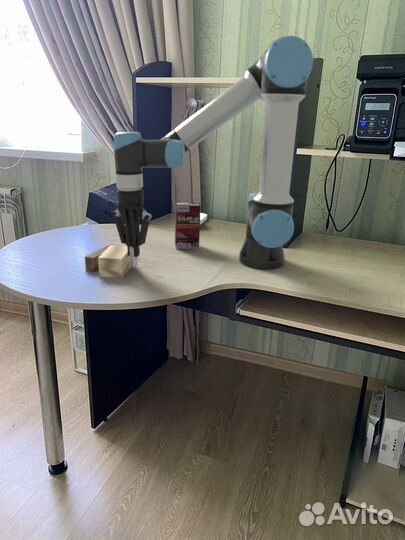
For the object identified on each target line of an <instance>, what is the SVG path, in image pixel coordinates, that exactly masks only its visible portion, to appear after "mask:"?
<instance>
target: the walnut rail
mask: <svg viewBox="0 0 405 540" xmlns="http://www.w3.org/2000/svg"><path fill="white" fill-rule="evenodd" d="M110 245H116V244H115V243H110V244H108V245H106V246H104V247H102V248H100V249H97V250H96V251H93V252H92V253H89V254H87V255H86V256H84V263H85V271H87V272H90V273H91V272H92V273H95V272H97V271H99V265H98V257H99V256H100V255H101V254H102V253H103V252H104V251H105V250H106V249H107V248H108V247H109V246H110ZM117 245H118V246H120V244H117Z"/></svg>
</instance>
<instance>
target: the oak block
mask: <svg viewBox="0 0 405 540" xmlns="http://www.w3.org/2000/svg"><path fill="white" fill-rule="evenodd" d="M109 245H110V244H109ZM118 245H119V244H115V245H110V246H109V247H108V248H107V249H106V250H105V251H104V252H103V253H102V254H101V255H100V256H99V257H98V265H99V270H98V276H99V277H101V278H102V277H103V278H104V277H105V278H114V279H117V278H118V279H123V278H124V277H125V275H126V274H127V273H128V271H129V270H130V269H131V263H130V256H128V249H127V245H119V246H118ZM99 277H98V278H99Z"/></svg>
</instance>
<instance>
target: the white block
mask: <svg viewBox="0 0 405 540" xmlns="http://www.w3.org/2000/svg"><path fill="white" fill-rule="evenodd" d="M207 220H208V214H207V213H203V212H200V226H201V225H202V224H203V223H204V222H205V221H207Z"/></svg>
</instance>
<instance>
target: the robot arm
mask: <svg viewBox="0 0 405 540" xmlns="http://www.w3.org/2000/svg"><path fill="white" fill-rule="evenodd" d="M313 64H314V56H313V52H312V48H311V47H310V45H309V44H308V43H307V42H306V41H305V40H304V39H303V38H301V37H300V36H295V35H286V36H281V37H279V38H277V39H274V40H273V41H272V42H271V44H270V45H269V46H268V47H267V49H266V50H265V51H264V52H263V54H262V55H261V56H260V57H259V58H258V59H257V60H256V61H255V62H254V63H253V64H252V65H251V66H249V68H247V69H246V70H245V72H244V76H242V77H241V78H240V79H239V80H237V81H236V82H234V83H233V84H232V85H231V86H229V87H228V88H227V89H226V90H224V91H222V92H221V93H220V94H219V95H218V96H216V97H215V98H213V99H212V100H211V101H210V102H208V103H206V105H204V106H203V107H202V108H200V109H199V110H197V111H196V112H195V113H193V114H192V115H191V116H190V117H189V118H186V120H184V121H183V122H181V123H180V124H179V125H178V126H176V127H175V128H174V129H172V130H171V131H170V132H169V133H167V134H166V135H165V136H163V137H161V138H160V139H143V138H142V135H141V133H140V132H139V131H120V132H116V133H115V134H113V152H114V153H113V154H114V167H115V182H116V183H115V185H116V189H117V190H116V195H117V196H116V197H117V198H116V199H117V202H118V205H117V208H116V209H115V210H114V211H111V212H110V215H111V217H112V219H113V220H114V222H115V226H116V230H117V233H118V237H119V239H120V243H121V244H125V246H127V249H128V256H130V263H131V267H130V269H133V268H136V267H137V266H139V257H140V254H141V251H140V246H143V245H145V244H146V240H147V235H148V230H149V226H150V221H151V219H152V218H153V214H152V213H149V212H147V210H146V207H145V205H144V201H145V200H144V199H145V198H144V196H145V195H144V193H145V192H144V189H143V187H144V179H143V178H144V177H143V176H144V175H143V168H159V169H160V168H161V169H163V168H164V169H166V168H167V169H169V168H170V169H176V168H177V169H178V168H183V167H184V166H185V161H186V160H185V159H186V157H185V155H186V153H188V151H190V150H192V148H193V147H195V146H197V145H198V144H199V143H200V142H202V141H204V140H205V139H206V138H208V137H209V136H210V135H212V134H214V133H215V132H216V131H217V130H218V129H220V128H222V127H223V126H224V125H226V124H227V123H228V122H229V121H231V120H233V118H235V117H236V116H238V115H239V114H240V113H242V112H243V111H244V110H246V109H248V108H249V107H250V106H252V105H253V104H254V103H255V102H257V101H258V100H260V101H261V100H262V101H265V108H264V122H263V133H262V145H261V146H262V147H261V156H260V157H261V160H260V161H261V162H260V171H259V186H258V192H251V193H250V194H249V195H248V200H247V214H246V215H247V216H246V229H245V230H246V231H245V239H244V241H243V243H242V247H241V249H240V252H239V255H238V261H239V262H240V263H241V264H242V265H244V266H246V267H251V268H253V267H254V268H255V269H260V268H262V269H263V270H269V269H268V268H272V269H277V267H278V268H280V266H281V267H282V266H284V264H285V258H286V256H285V253H284V248H283V246H284V245H286V244H287V243H288V242H289V241H290V240H291V238H292V236H293V235H294V231H295V222H294V219H293V212H294V202H295V200H294V198H293V197H292V196H291V195H290V189H291V181H292V169H293V161H294V154H295V153H294V150H295V141H296V133H297V132H296V131H297V125H298V113H299V104H300V102H302V101H303V99H304V98H306V93H307V85H308V79H309V76H310V74H311V72H312V69H313V66H314V65H313ZM141 219H142V220H141ZM140 223H141V225H140Z"/></svg>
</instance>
